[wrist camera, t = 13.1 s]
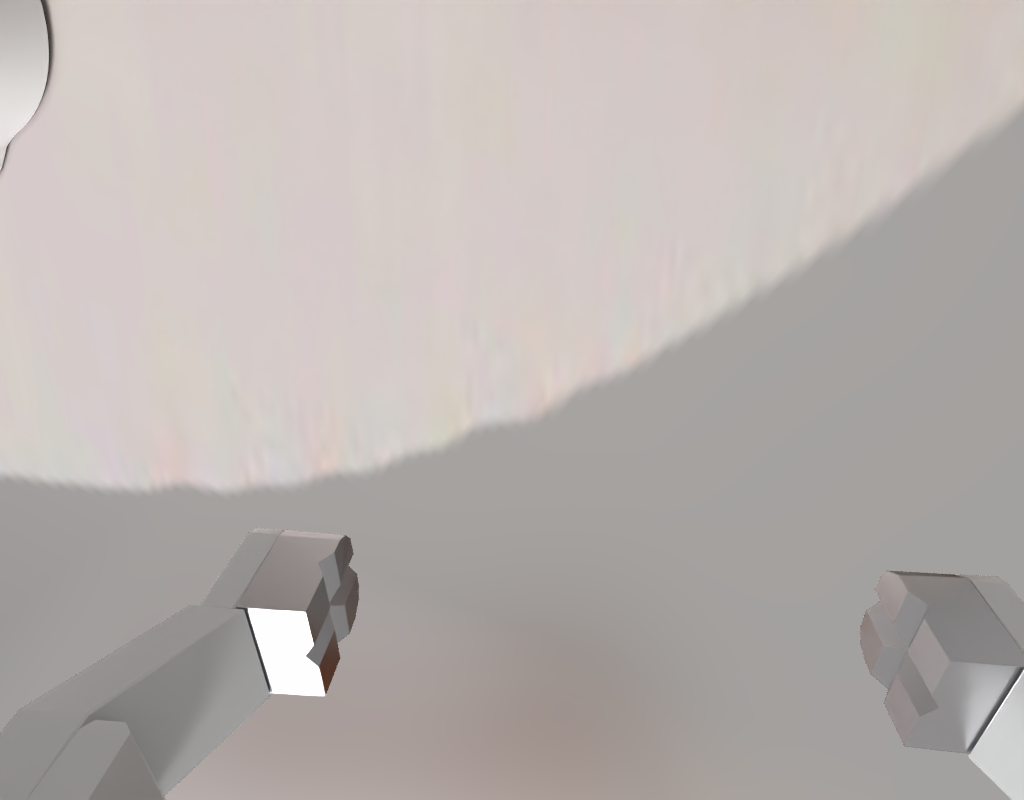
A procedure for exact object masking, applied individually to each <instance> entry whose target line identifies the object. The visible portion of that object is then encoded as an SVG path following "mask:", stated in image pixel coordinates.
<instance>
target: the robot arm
mask: <svg viewBox="0 0 1024 800" xmlns="http://www.w3.org/2000/svg"><path fill="white" fill-rule="evenodd" d="M48 65H49V45H48V34H47V27H46V21H45V16H44V12H43V7H42V4H41V0H0V171H1V168H2V165H3V161H4V157H5V152H6V148H7V145H8V144H9V142H10V141H11V139H12V138H13V137H14V136H15V135H16V134H17V133H18V132H19V131H20V130H21V129H22V128H23V127H24V126H25V125H26V124H27V123H28V121H29V120H30V119H31V118H32V116H33V115H34V113H35V111H36V109H37V108H38V106H39V103H40V101H41V99H42V96H43V93H44V89H45V85H46V81H47V75H48ZM352 556H353V548H352V544H351V539H350V538H349V537H347V536H346V535H338V534H327V533H315V532H304V531H294V530H286V531H285V530H274V529H264V528H255V529H254V530H252V531H251V532H249V533H248V534H247V535H246V536H245V538H244V539H243V541H242V542H241V544H240V545H239V547H238V548H237V550H236V551H235V553H234V554H233V556H232V557H231V559H230V560H229V562H228V563H227V565H226V566H225V568H224V569H223V571H222V572H221V574H220V575H219V577H218V578H217V580H216V581H215V583H214V584H213V586H212V587H211V589H210V590H209V591H208V593H207V595H206V596H205V598H204V599H203V601H202V602H201V603H200V605H199V606H193V605H189V606H188V607H186V608H184V609H183V610H181V611H179V612H178V613H176V614H175V615H173V616H171V617H169V618H168V619H166V620H165V621H163V622H161V623H160V624H158V625H156V626H155V627H153V628H152V629H150V630H149V631H147V632H145V633H143V634H142V635H140V636H138V637H137V638H135V639H133V640H132V641H130V642H129V643H127V644H125V645H124V646H122V647H120V648H119V649H117V650H115V651H114V652H112V653H111V654H109V655H107V656H106V657H104V658H102V659H101V660H99V661H97V662H96V663H94V664H93V665H91V666H89V667H88V668H86V669H85V670H83V671H81V672H79V673H78V674H76V675H75V676H73V677H71V678H70V679H68V680H66V681H65V682H63V683H62V684H60V685H58V686H57V687H55V688H53V689H52V690H50V691H48V692H47V693H45V694H43V695H42V696H40V697H39V698H37V699H35V700H34V701H32V702H30V703H29V704H27V705H25V706H24V707H22V708H21V709H19V711H18V712H17V713H16V714H15V715H14V716H13V718H12V719H11V720H10V721H9V722H8V724H7V725H6V726H5V727H4V728H3V729H2V731H1V732H0V800H166V799H165V797H164V796H165V795H166V794H168V793H169V792H170V791H171V790H172V789H173V788H174V787H175V786H176V785H177V784H178V783H179V782H180V781H181V780H182V779H183V778H185V777H186V775H188V774H189V773H190V772H191V771H192V770H193V769H194V768H195V767H196V766H197V765H198V764H199V763H200V762H201V761H203V759H205V758H206V757H207V756H208V755H209V754H210V753H211V752H212V751H213V750H214V749H215V748H216V747H217V746H218V745H220V744H221V743H222V742H223V741H224V740H225V739H226V738H227V737H228V736H229V735H230V734H231V733H232V732H233V731H234V730H235V729H237V728H238V727H239V726H240V725H241V724H242V723H243V722H244V721H245V720H246V719H247V718H248V717H249V716H250V715H251V714H252V713H254V712H255V711H256V710H257V709H258V708H259V707H260V706H261V705H262V704H263V703H264V702H265V701H266V700H267V699H268V698H269V697H270V693H278V694H296V695H314V696H326V694H327V691H328V689H329V686H330V683H331V681H332V678H333V676H334V673H335V671H336V668H337V665H338V663H339V660H340V653H339V648H338V642H340V641H341V640H342V639H344V638H345V637H346V636H347V635H349V634H350V632H351V629H352V626H353V623H354V620H355V617H356V612H357V607H358V601H359V583H358V577H357V573H355V572H354V571H353V570H352V569H351V568H350V567H349V563H350V561H351V559H352ZM875 590H876V592H877V594H878V596H879V598H880V600H881V601H879V602H878V603H876V604H875V605H873V606H872V607H870V608H869V609H867V610H866V612H865V615H864V618H863V621H862V623H861V626H860V627H861V628H860V631H861V632H860V635H861V636H860V638H861V640H860V643H861V648H862V653H863V657H864V660H865V662H866V664H867V667H868V669H869V671H870V674H871V675H872V676H873V677H874V678H876V679H877V680H878V681H879V682H880V683H881V684H883V685H884V686H885V687H886V688H887V689H888V692H887V694H886V697H885V700H884V704H885V707H886V709H887V711H888V713H889V715H890V717H891V719H892V722H893V724H894V726H895V728H896V730H897V732H898V734H899V737H900V739H901V741H902V743H903V745H904V746H905V747H913V748H922V749H930V750H939V751H948V752H957V753H966V754H970V755H969V758H970V759H971V760H972V761H973V762H974V763H975V764H976V765H977V766H978V767H979V768H980V769H981V770H982V771H983V772H984V773H985V774H986V775H987V776H988V777H989V778H990V779H991V780H992V781H993V782H994V783H996V785H997V786H998V787H999V788H1001V789H1002V790H1003V791H1004V792H1005V793H1006V794H1007V795H1008V796H1009V797H1010V798H1011V799H1012V800H1024V603H1023V601H1022V600H1021V599H1020V598H1019V597H1018V595H1017V594H1016V593H1015V591H1014V590H1013V589H1012V588H1011V586H1010V585H1009V584H1008V583H1007V582H1005V581H1004V580H1002V579H1001V578H999V577H997V576H979V575H954V574H937V573H920V572H903V571H886V572H885V573H884V574H883V575H882V576H881V577H880V578H879V580H878V583H877V585H876V587H875Z"/></svg>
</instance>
